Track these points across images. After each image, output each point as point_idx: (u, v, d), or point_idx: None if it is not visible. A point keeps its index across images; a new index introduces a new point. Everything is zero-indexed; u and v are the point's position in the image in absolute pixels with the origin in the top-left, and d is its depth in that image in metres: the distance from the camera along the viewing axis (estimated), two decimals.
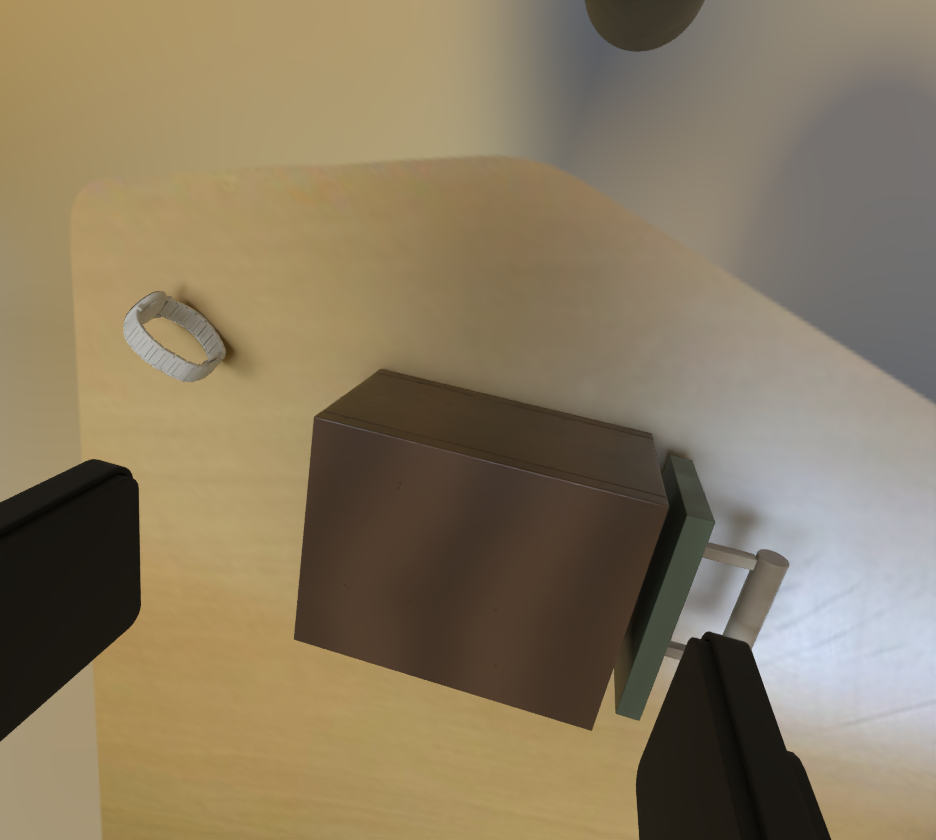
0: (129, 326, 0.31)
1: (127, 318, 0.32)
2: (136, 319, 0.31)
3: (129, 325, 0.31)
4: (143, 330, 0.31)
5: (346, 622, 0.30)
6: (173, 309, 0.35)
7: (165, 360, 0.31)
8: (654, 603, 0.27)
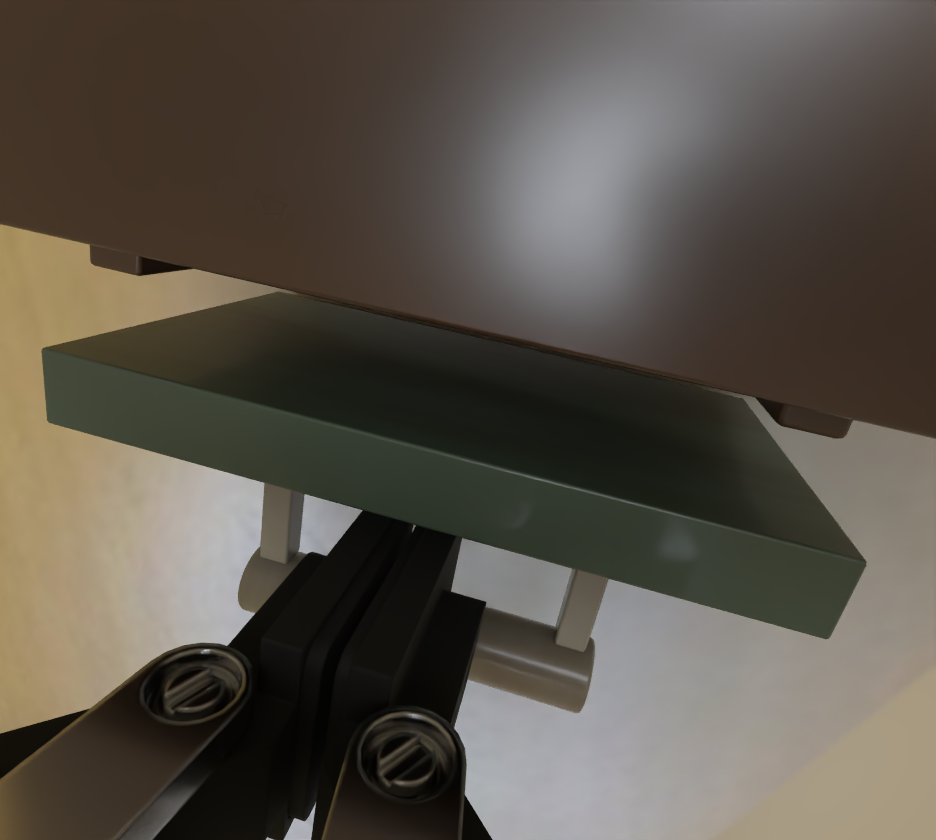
0: None
1: None
2: None
3: None
4: None
5: None
6: None
7: None
8: (487, 459, 0.08)
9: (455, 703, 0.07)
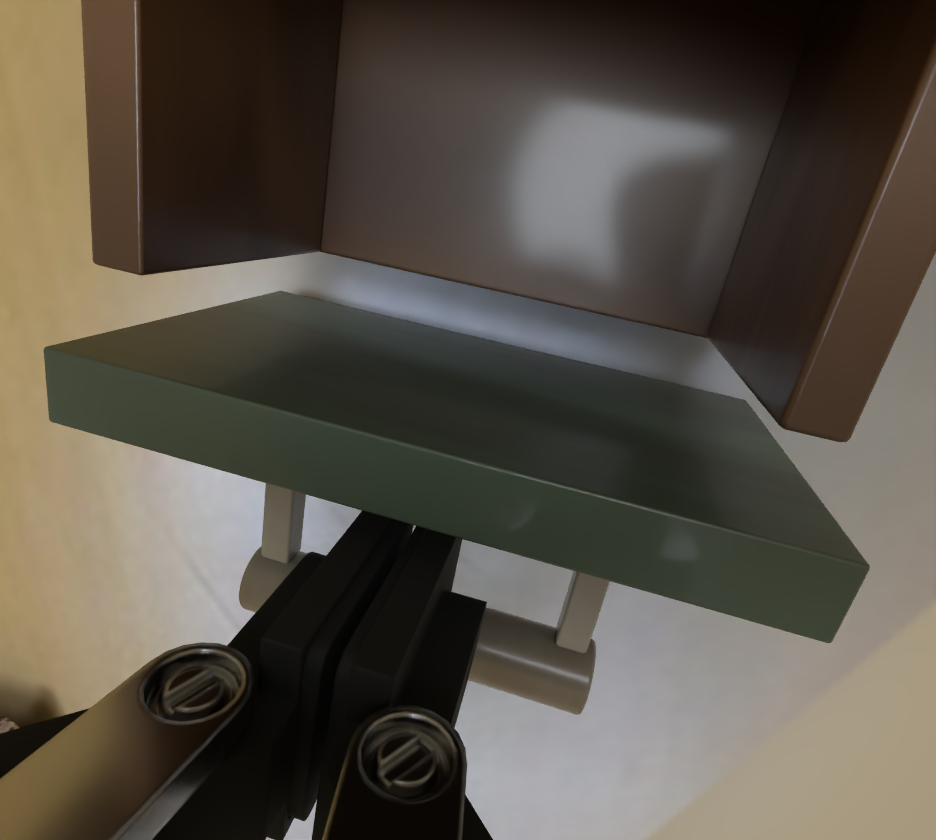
0: None
1: None
2: None
3: None
4: None
5: None
6: None
7: None
8: (488, 461, 0.08)
9: (455, 703, 0.07)
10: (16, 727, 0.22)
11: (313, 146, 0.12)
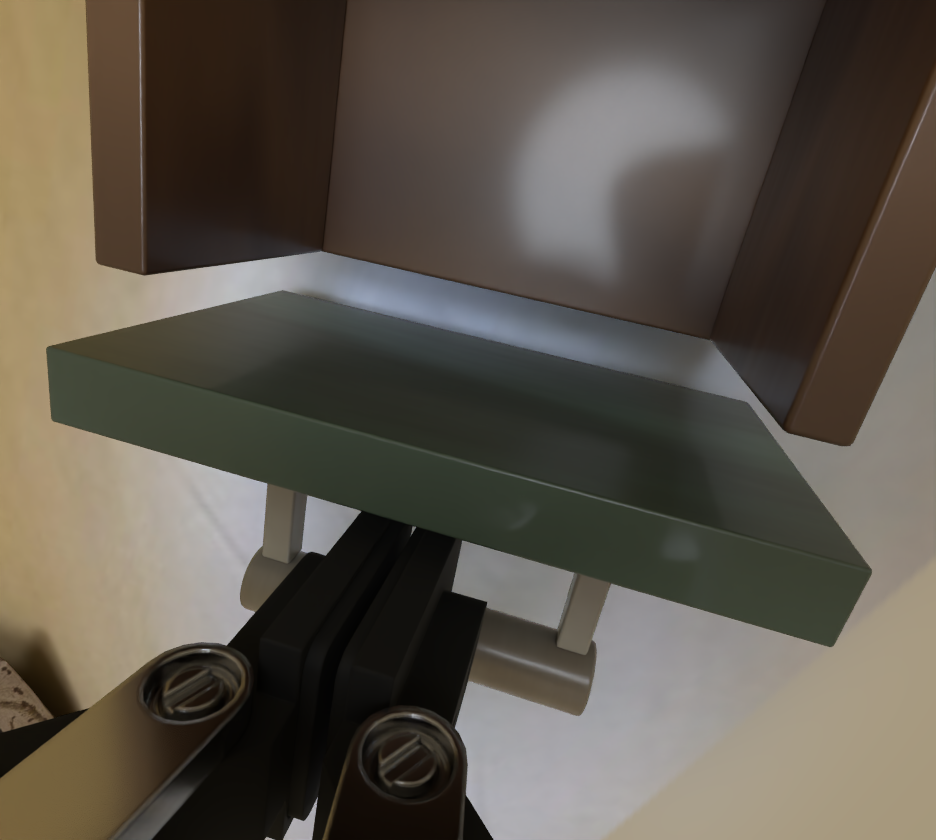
0: None
1: None
2: None
3: None
4: None
5: None
6: None
7: None
8: (490, 462, 0.08)
9: (456, 703, 0.07)
10: (9, 667, 0.21)
11: (316, 146, 0.12)
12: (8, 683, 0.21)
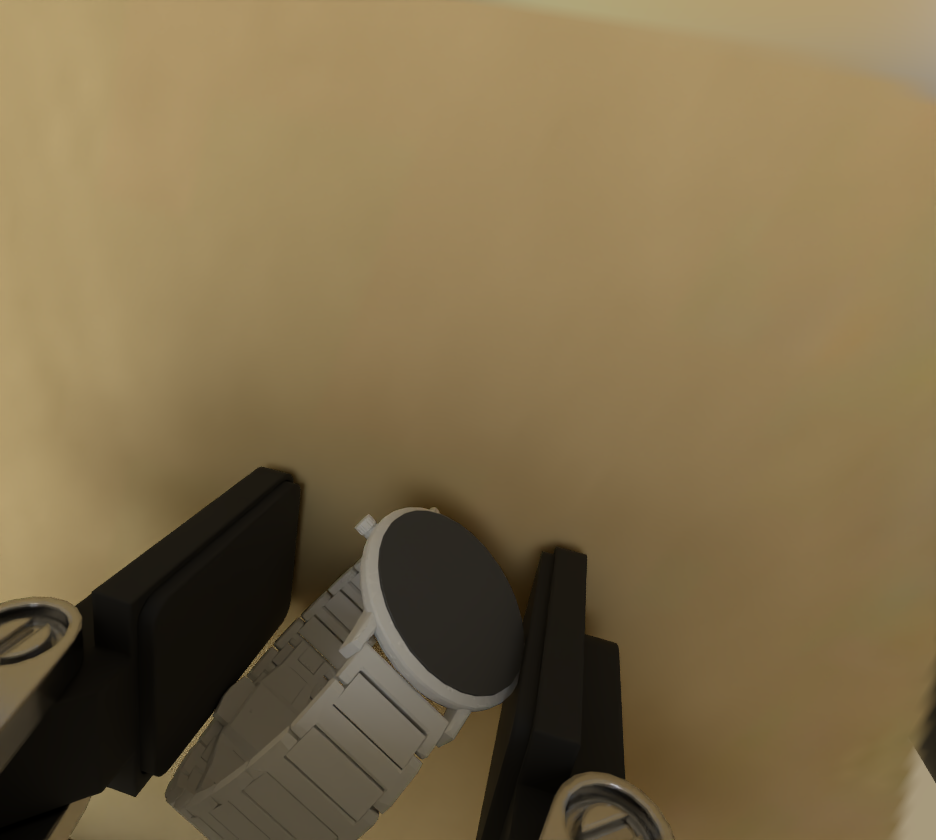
0: (350, 751, 0.06)
1: (394, 656, 0.06)
2: (388, 802, 0.06)
3: (355, 747, 0.06)
4: None
5: None
6: None
7: None
8: None
9: (623, 761, 0.07)
10: None
11: None
12: None
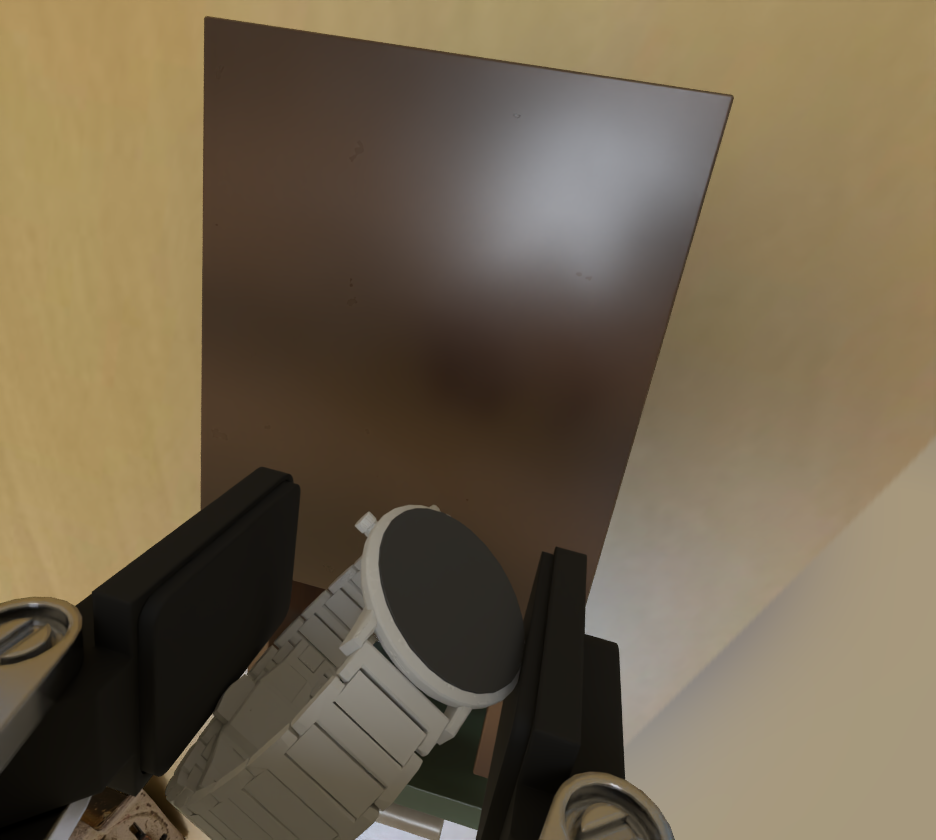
0: (350, 748, 0.06)
1: (394, 653, 0.06)
2: (388, 800, 0.06)
3: (355, 745, 0.06)
4: None
5: (277, 149, 0.15)
6: None
7: None
8: None
9: (623, 761, 0.07)
10: (144, 792, 0.36)
11: None
12: (144, 801, 0.36)
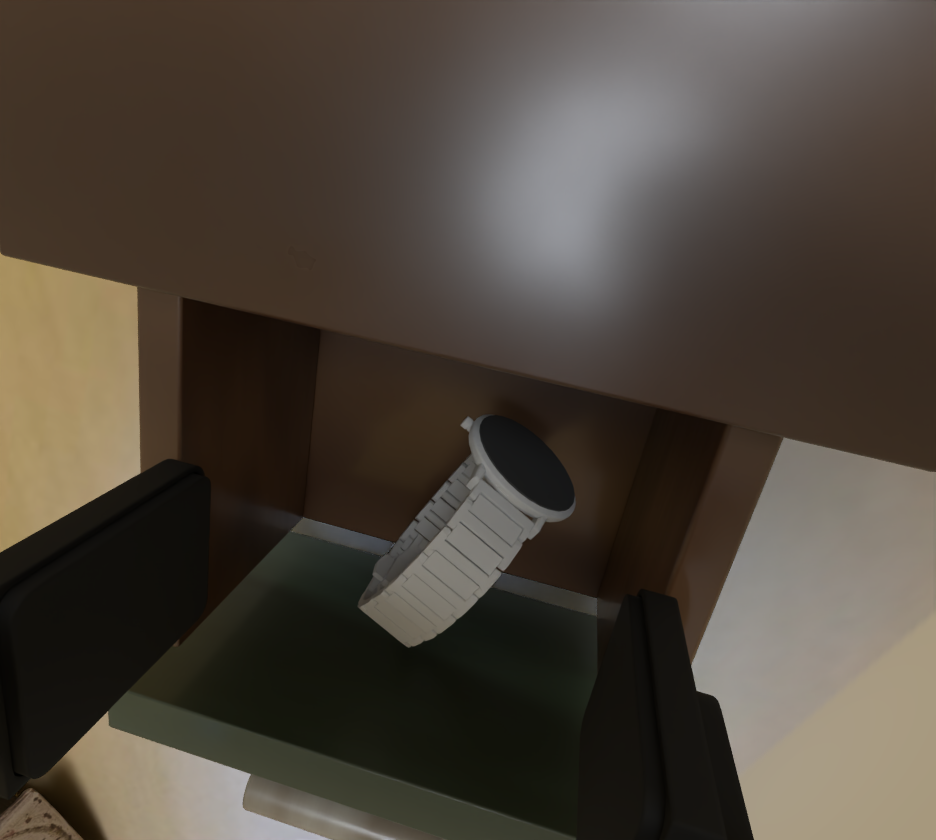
0: (481, 535, 0.11)
1: (498, 485, 0.11)
2: (505, 564, 0.11)
3: (483, 533, 0.11)
4: (480, 596, 0.11)
5: None
6: None
7: (406, 622, 0.11)
8: (415, 780, 0.12)
9: None
10: (40, 797, 0.24)
11: (296, 463, 0.15)
12: (39, 810, 0.24)
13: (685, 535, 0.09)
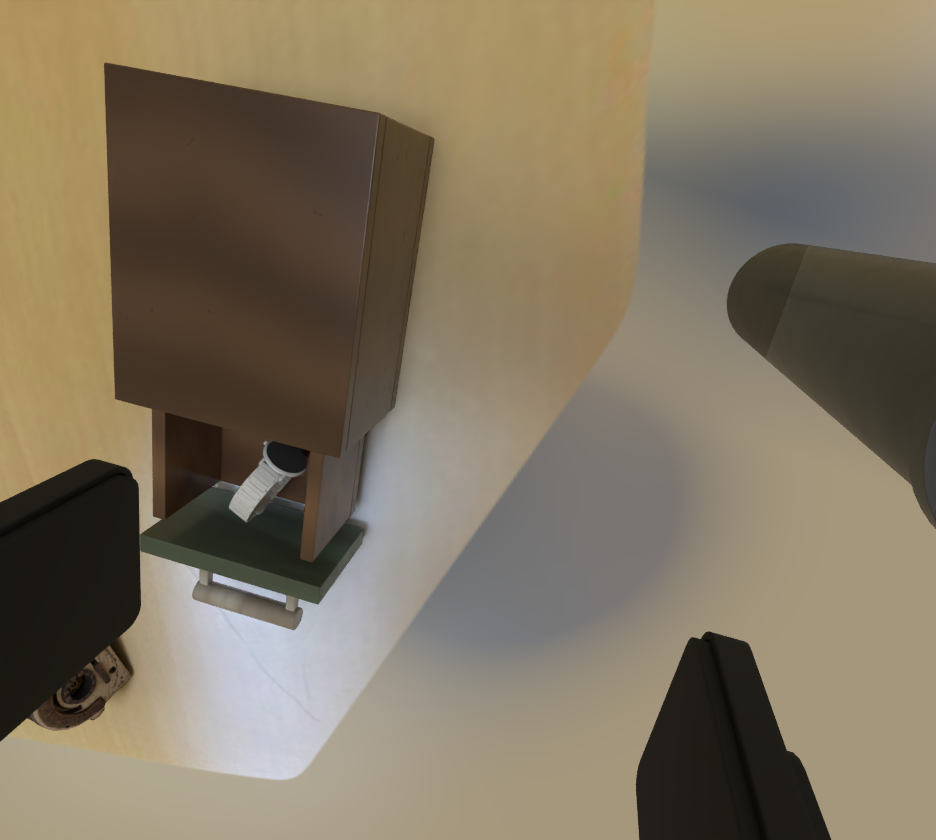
0: (260, 479, 0.33)
1: (268, 464, 0.34)
2: (268, 489, 0.33)
3: (261, 479, 0.33)
4: (260, 499, 0.33)
5: (147, 139, 0.26)
6: None
7: (241, 510, 0.34)
8: (244, 564, 0.34)
9: None
10: None
11: (214, 457, 0.38)
12: None
13: (307, 477, 0.32)
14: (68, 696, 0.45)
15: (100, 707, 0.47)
